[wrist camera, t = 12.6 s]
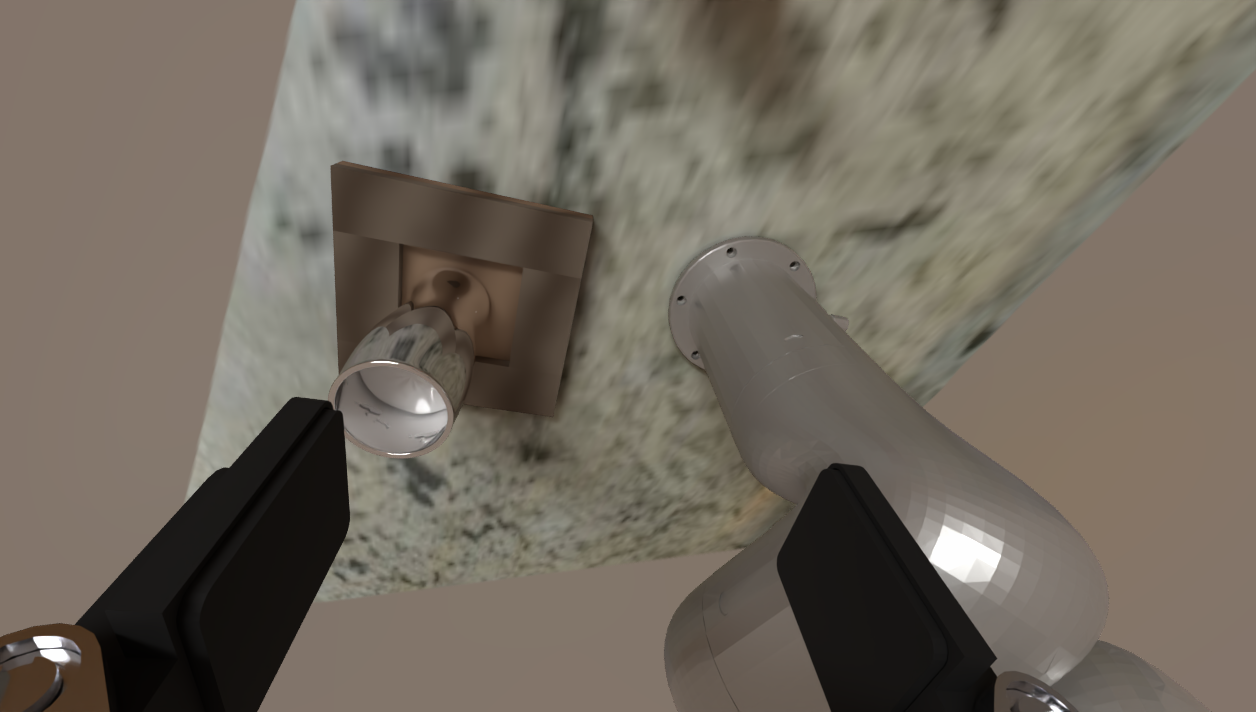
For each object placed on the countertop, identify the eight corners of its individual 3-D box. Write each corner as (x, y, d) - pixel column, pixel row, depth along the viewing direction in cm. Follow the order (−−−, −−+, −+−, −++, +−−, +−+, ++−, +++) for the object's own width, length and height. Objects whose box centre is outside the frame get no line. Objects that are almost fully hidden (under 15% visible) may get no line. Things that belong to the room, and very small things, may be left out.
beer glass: (474, 353, 43) (429, 477, 30) (393, 316, 41) (306, 433, 28) (510, 287, 41) (477, 392, 28) (425, 244, 38) (346, 335, 25)
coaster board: (592, 215, 39) (593, 222, 38) (554, 404, 48) (553, 417, 46) (342, 160, 36) (330, 165, 34) (348, 373, 45) (339, 386, 43)
